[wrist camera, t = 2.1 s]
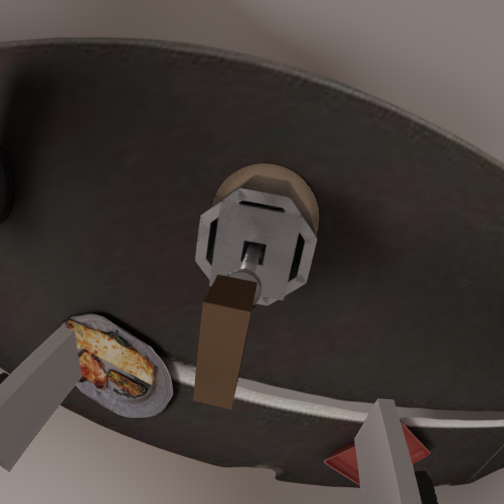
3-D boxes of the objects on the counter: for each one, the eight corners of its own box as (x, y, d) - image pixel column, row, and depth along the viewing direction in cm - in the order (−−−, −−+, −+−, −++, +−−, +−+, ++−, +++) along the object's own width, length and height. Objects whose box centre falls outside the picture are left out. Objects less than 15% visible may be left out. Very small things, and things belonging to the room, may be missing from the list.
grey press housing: (205, 263, 46) (171, 314, 32) (220, 154, 40) (186, 161, 27) (303, 282, 45) (308, 342, 31) (328, 175, 40) (349, 191, 26)
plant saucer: (428, 444, 55) (432, 454, 52) (361, 477, 60) (363, 488, 57) (397, 409, 52) (401, 421, 49) (321, 449, 57) (321, 461, 54)
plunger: (217, 267, 33) (148, 394, 16) (227, 200, 31) (147, 278, 13) (285, 280, 33) (277, 423, 15) (299, 214, 31) (313, 313, 13)
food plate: (53, 365, 57) (45, 374, 54) (71, 285, 50) (60, 294, 47) (152, 424, 60) (147, 436, 57) (194, 359, 52) (189, 372, 49)
